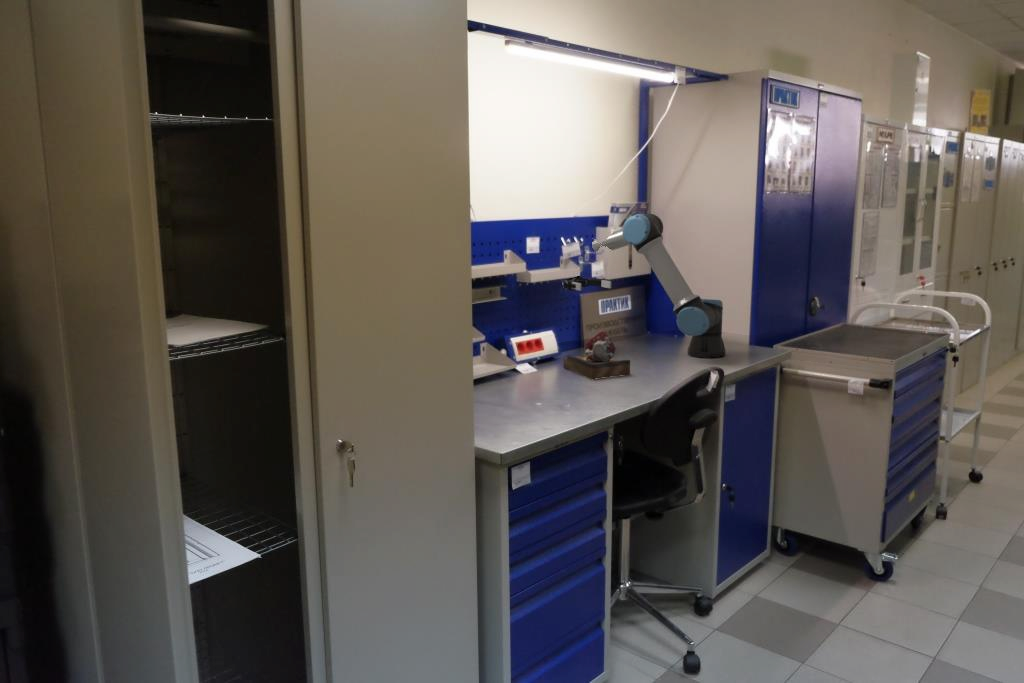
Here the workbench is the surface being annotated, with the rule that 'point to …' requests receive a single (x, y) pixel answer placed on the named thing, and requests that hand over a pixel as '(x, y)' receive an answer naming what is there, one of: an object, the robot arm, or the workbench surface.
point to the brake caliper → (600, 348)
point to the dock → (596, 367)
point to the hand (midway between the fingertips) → (595, 285)
